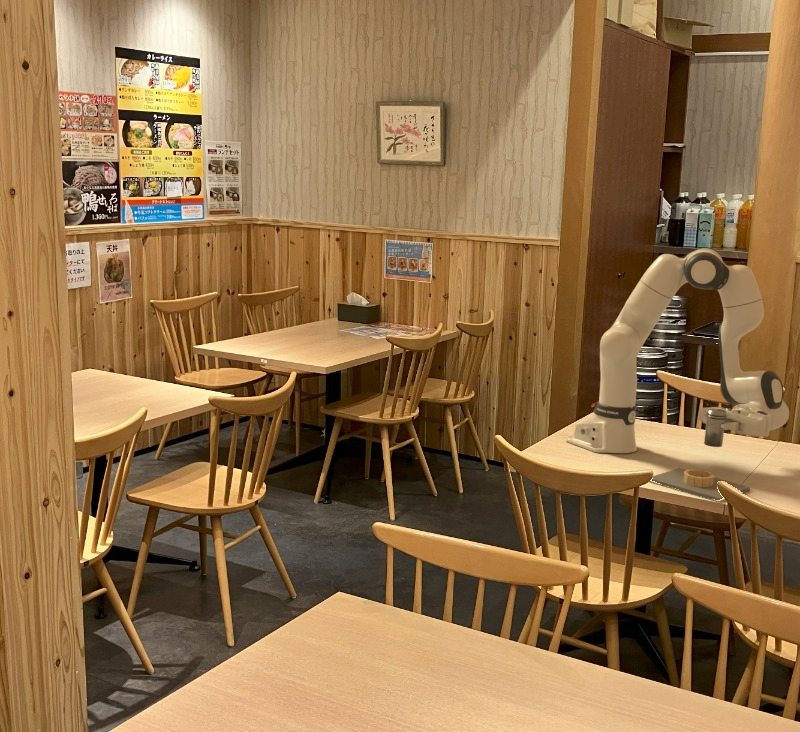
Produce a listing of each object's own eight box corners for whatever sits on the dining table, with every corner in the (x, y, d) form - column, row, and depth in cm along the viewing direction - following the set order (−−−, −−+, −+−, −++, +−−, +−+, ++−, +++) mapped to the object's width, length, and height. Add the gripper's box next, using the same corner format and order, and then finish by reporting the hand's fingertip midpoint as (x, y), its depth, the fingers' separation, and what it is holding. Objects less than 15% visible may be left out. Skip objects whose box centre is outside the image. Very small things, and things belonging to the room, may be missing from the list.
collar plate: (647, 481, 269) (648, 469, 268) (678, 471, 279) (679, 459, 279) (719, 502, 253) (720, 489, 252) (749, 490, 263) (751, 478, 263)
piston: (700, 443, 277) (704, 409, 275) (709, 441, 280) (713, 407, 278) (716, 448, 273) (720, 413, 271) (725, 445, 277) (729, 411, 275)
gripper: (718, 400, 290) (686, 404, 283) (776, 416, 273) (743, 421, 266) (715, 421, 292) (684, 425, 284) (773, 438, 275) (741, 443, 267)
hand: (713, 423), depth 275 cm, fingers closed on piston, 5 cm apart
